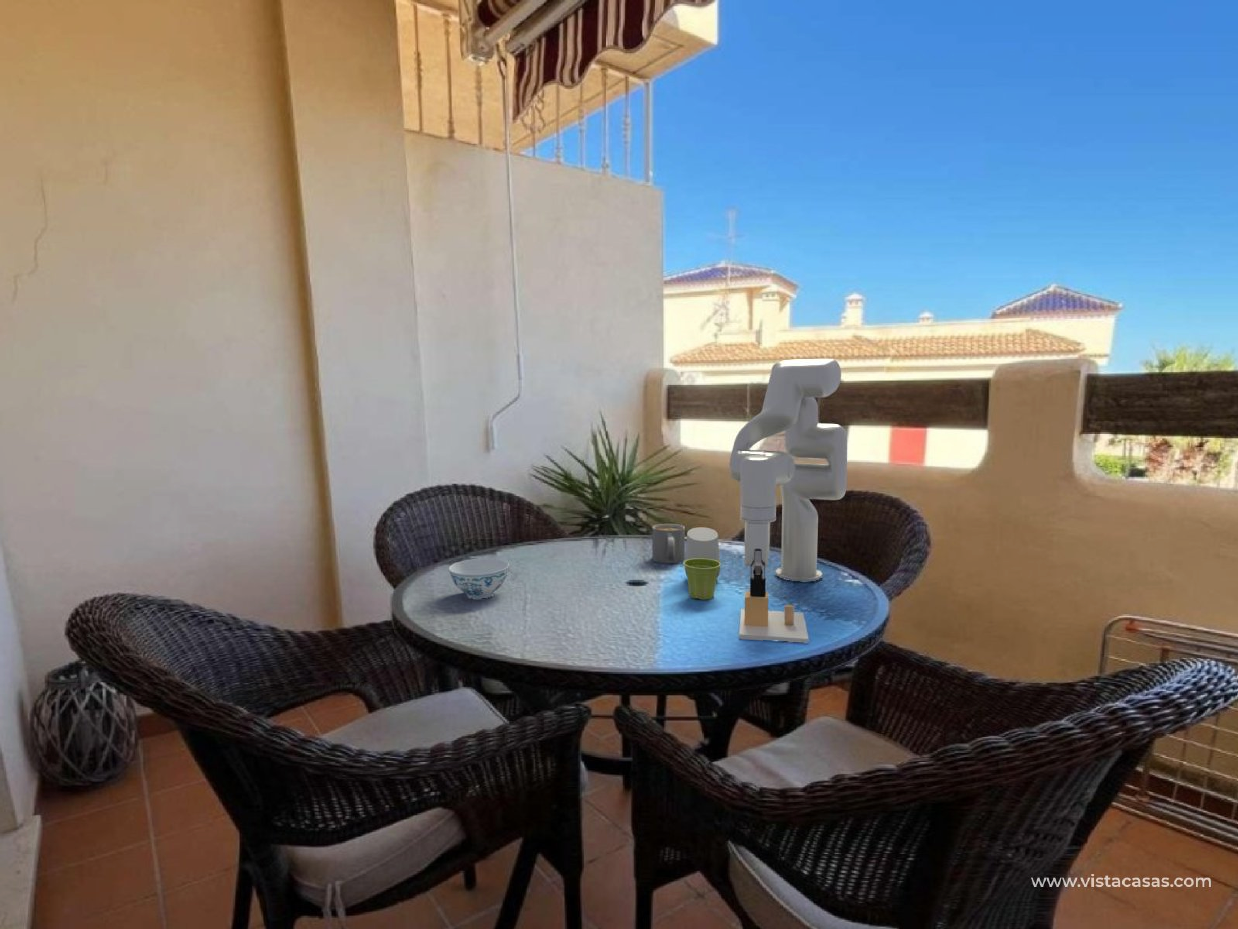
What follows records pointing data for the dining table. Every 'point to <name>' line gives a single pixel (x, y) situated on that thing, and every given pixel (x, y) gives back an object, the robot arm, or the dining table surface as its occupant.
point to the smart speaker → (702, 544)
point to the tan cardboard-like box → (756, 610)
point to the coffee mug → (668, 543)
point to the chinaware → (479, 576)
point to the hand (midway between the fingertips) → (757, 588)
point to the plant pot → (701, 577)
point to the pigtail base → (777, 627)
